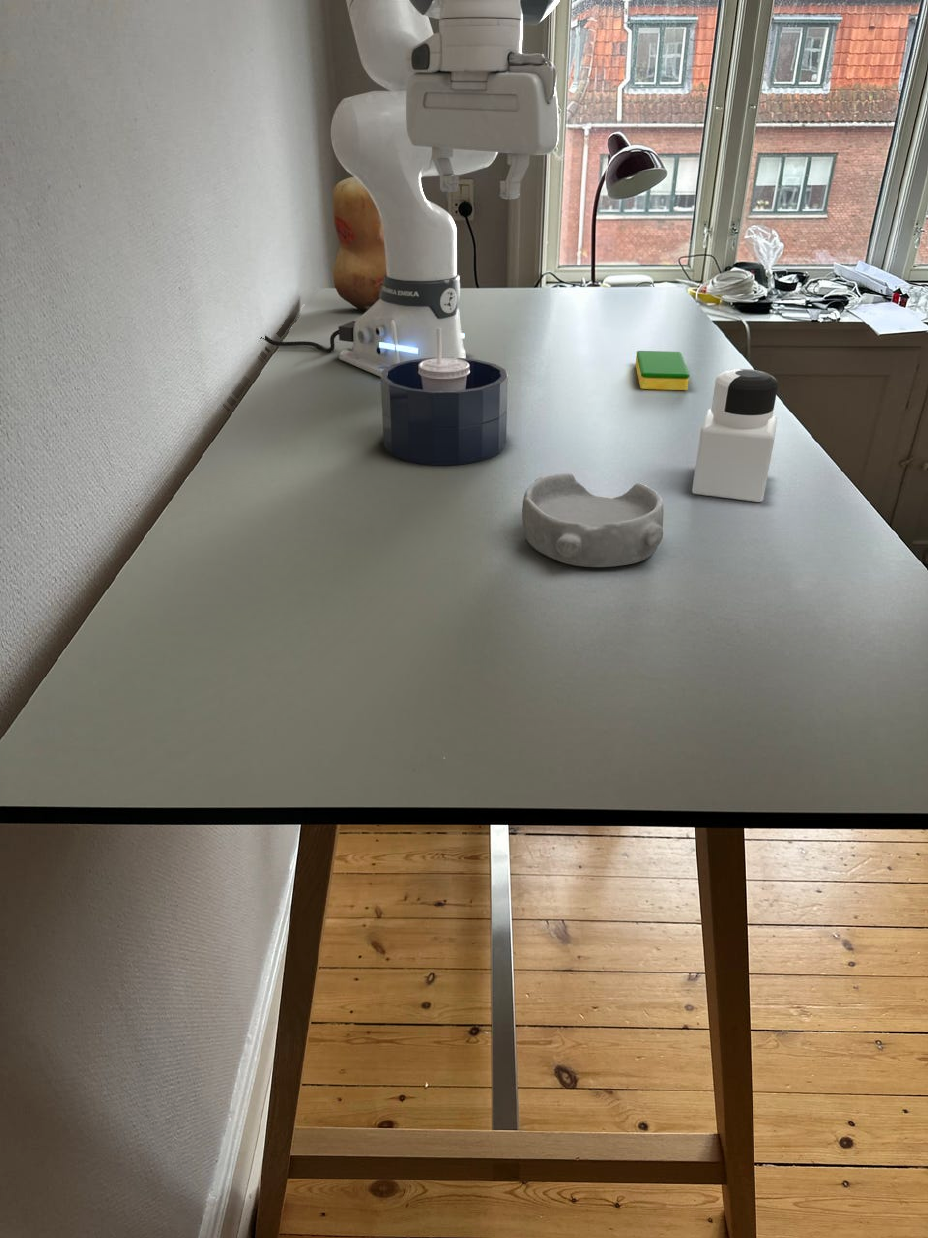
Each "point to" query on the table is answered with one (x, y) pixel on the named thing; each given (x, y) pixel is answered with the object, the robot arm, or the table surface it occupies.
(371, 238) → the butternut squash
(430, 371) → the smoothie
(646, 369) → the dish sponge
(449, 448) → the pot
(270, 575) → the table surface
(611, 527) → the dish
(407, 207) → the robot arm
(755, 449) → the container
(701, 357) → the table surface
